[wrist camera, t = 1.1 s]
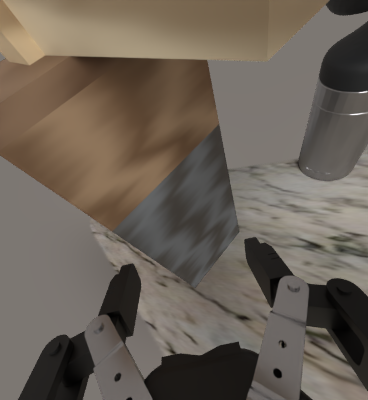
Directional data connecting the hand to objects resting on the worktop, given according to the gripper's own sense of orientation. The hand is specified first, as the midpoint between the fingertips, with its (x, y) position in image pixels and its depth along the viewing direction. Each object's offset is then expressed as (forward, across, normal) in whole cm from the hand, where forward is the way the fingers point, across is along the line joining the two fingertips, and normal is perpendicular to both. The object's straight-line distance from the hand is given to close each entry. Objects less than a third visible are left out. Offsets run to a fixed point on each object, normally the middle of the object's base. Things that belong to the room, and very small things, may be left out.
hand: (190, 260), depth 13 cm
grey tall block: (+22, +1, +13) cm, 26 cm away
